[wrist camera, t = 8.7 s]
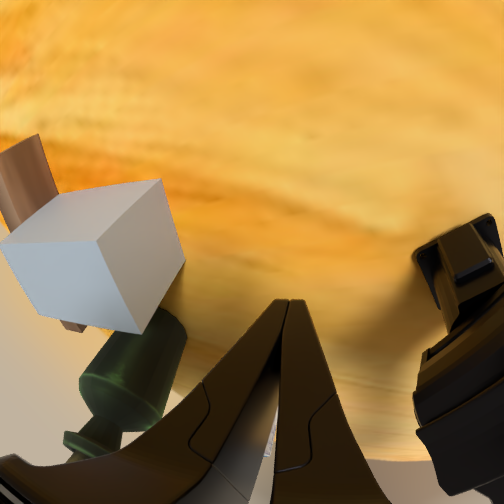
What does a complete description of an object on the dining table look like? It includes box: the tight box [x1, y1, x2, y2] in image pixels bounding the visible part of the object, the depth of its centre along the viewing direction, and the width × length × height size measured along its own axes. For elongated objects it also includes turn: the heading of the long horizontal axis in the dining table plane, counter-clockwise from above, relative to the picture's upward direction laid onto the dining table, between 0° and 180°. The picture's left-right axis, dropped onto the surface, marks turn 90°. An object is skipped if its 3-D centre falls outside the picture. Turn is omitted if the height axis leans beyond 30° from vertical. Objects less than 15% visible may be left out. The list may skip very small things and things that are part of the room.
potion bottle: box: [63, 307, 187, 463], centre depth 24 cm, size 8×8×18 cm
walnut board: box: [0, 134, 87, 333], centre depth 24 cm, size 2×18×5 cm, turn 9°
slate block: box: [0, 179, 185, 335], centre depth 21 cm, size 11×7×8 cm, turn 99°
